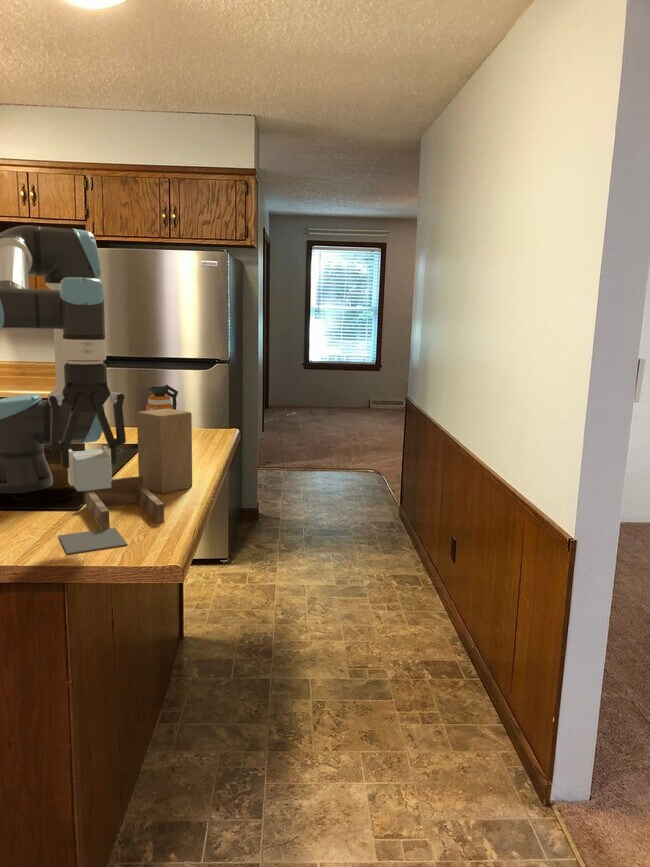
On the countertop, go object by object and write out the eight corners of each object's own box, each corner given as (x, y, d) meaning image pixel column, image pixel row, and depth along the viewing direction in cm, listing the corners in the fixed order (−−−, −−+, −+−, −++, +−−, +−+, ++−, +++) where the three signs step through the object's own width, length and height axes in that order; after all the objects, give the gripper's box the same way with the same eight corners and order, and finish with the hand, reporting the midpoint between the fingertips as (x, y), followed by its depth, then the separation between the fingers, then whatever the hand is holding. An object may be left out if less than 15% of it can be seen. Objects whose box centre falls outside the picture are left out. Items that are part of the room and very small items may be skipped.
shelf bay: (86, 506, 148) (84, 481, 147) (142, 500, 154) (141, 476, 153) (102, 530, 132) (101, 502, 131) (164, 521, 138) (163, 494, 137)
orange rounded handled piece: (146, 438, 233) (145, 383, 230) (177, 437, 236) (176, 383, 233) (147, 442, 225) (146, 386, 221) (179, 441, 228) (178, 386, 225)
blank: (70, 482, 125) (69, 451, 124) (103, 478, 128) (101, 449, 127) (77, 491, 118) (76, 459, 117) (111, 488, 121) (110, 456, 120)
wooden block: (169, 480, 173) (168, 408, 170) (193, 487, 167) (192, 412, 164) (138, 487, 166) (136, 411, 162) (161, 494, 159) (160, 415, 156)
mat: (58, 536, 127) (58, 535, 127) (115, 529, 133) (115, 527, 133) (67, 554, 118) (67, 553, 118) (127, 545, 123) (127, 544, 123)
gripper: (31, 364, 111) (38, 492, 115) (141, 363, 121) (144, 481, 125) (27, 361, 118) (34, 482, 122) (132, 360, 127) (135, 473, 131)
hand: (90, 481), depth 123 cm, fingers closed on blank, 6 cm apart
